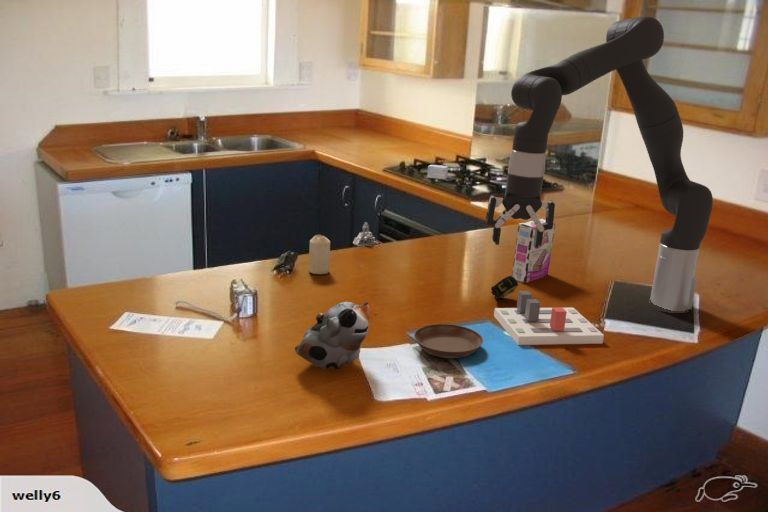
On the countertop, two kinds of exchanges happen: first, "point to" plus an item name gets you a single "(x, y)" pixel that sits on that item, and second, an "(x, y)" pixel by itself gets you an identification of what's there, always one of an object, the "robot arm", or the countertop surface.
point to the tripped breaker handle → (558, 319)
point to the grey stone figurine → (365, 237)
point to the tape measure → (504, 287)
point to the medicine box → (437, 171)
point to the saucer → (448, 340)
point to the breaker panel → (544, 324)
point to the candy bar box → (532, 253)
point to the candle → (319, 255)
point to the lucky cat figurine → (336, 336)
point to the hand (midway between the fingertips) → (516, 245)
